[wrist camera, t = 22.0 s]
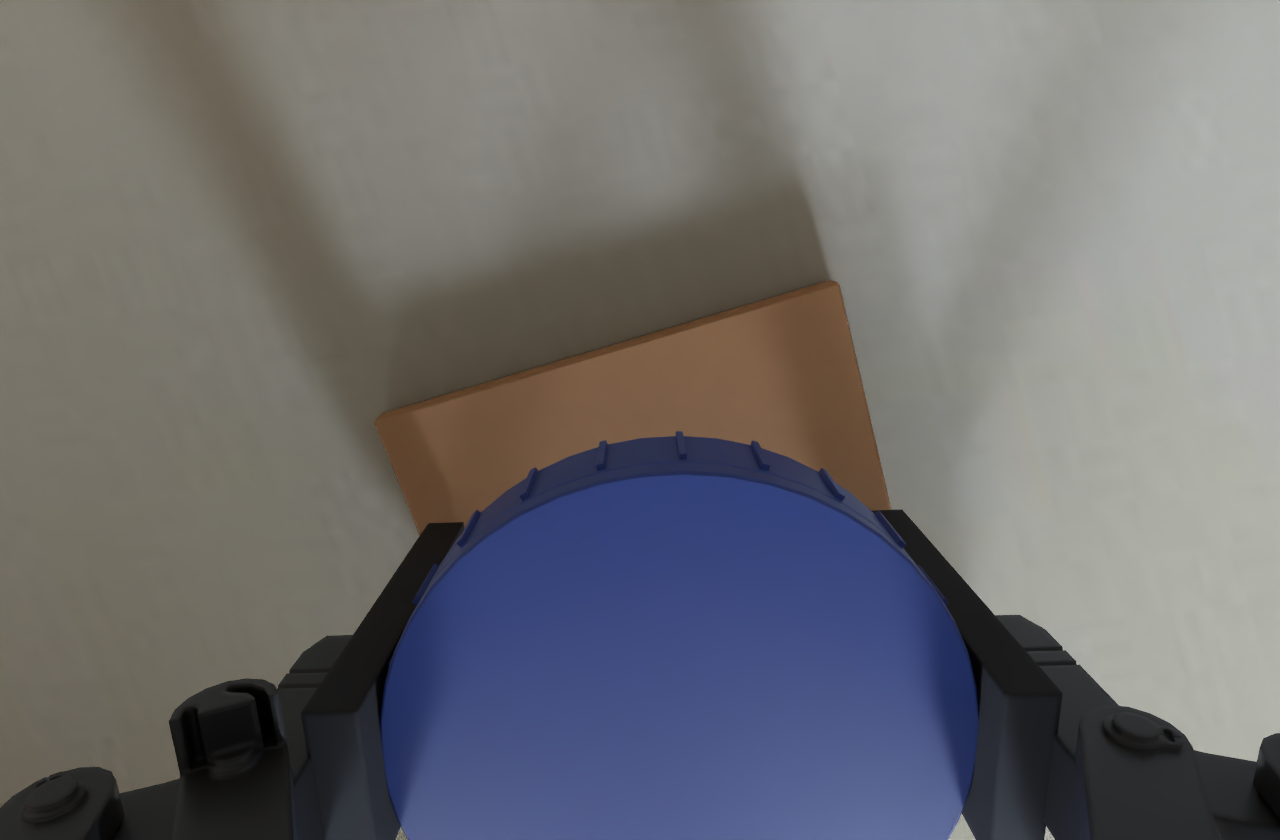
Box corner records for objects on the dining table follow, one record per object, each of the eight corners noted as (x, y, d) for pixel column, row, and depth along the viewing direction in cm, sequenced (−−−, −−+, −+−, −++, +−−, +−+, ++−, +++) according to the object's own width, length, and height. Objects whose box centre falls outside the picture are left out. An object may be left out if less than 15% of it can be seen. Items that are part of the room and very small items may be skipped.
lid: (463, 921, 14) (439, 1015, 13) (356, 468, 12) (310, 510, 10) (947, 871, 14) (988, 960, 12) (932, 397, 12) (980, 428, 10)
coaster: (832, 278, 16) (839, 281, 16) (926, 684, 19) (935, 699, 18) (381, 413, 17) (372, 420, 16) (530, 785, 19) (526, 803, 19)
